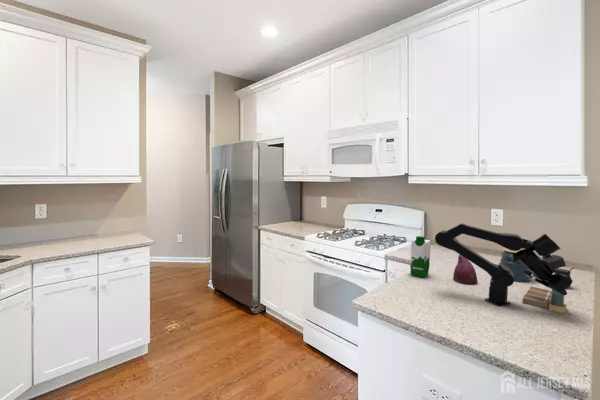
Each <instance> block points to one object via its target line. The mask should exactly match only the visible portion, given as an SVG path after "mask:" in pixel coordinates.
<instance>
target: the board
mask: <svg viewBox="0 0 600 400" xmlns="http://www.w3.org/2000/svg"><path fill="white" fill-rule="evenodd" d="M551 299H552V290H551V289H545V288H540V287H536V286H530V287H529V288H528V290H527V291H526V293H524V296H523V297H522V304H524V305H525V304H526V305H529V306H534V307H538V308H542V309H547V310H549V304H550V302H551Z"/></svg>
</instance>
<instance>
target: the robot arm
mask: <svg viewBox="0 0 600 400" xmlns="http://www.w3.org/2000/svg"><path fill="white" fill-rule="evenodd" d="M461 235H467V236H469V237H473V238H477V239H481V240H485V241H488V242H492V243H494V244H497V245H499V246H500V247H502V248H507V249H509V250H512V251H518V250H520V249H521V250H520V251H518V252H516V253H512V255H511V259H512V260H513V262H515V261H517V260H520V261H521V262H522V263H523V264H524V265H525V266H526V267H525V268H526V270H525V271H524V274H525V275H526V276H527V277H529V278H530V280H531V279H533V278H534V279H533V280H534V281H535V282H537V283H539V284H541V285H542V286H545V287H547V288H549V289H550V290H552V289H553V290H555V291H557V292H559V293H561V294H563V295H564V296H566V295H568V292H567V288H566V287H567V286H568V285H570V284H571V283H572V284H573V282H574V280H573V279H572V277H571V276H570V277H571V278H570V277H568V276H566V275H564V274H555V272H556V270H555V269H557V268H560V269H561V268H563V267H566V266H567V263H566V261H565V259H564V257H563V256H560V255H558V254H554V253H555V252H557V251H559V250H561V247H560V246H559V245H558V244H557V243H556V241H555V240H553V239H552V238H550V237H549V236H548V234H546V233H543V234H542V235H540V236H539V237H538V238H536V239H534V240H529V239H525V238H523V237H521V236H520V235H519V234H516V233H508V232H495V231H492V230H488V229H483V228H482V227H481V228H480V227H476V226H472V225H468V224H466V223H459V224H458V225H456V226H454V227H452V228H450V229H448V230H446V229H445V230H441V231H438V233H436V234H435V236H434V240H435V243H436V244H437V245H439V246H441V247H443V248H446V249H448V250H450V251H451V250H452V251H453V252H456V253H457V254H458V255H459V254H460V255H462V256H463V257H465V258H466V259H467V260H469V261H470V263H471V264H474V265H476V266H477V267H478V268H479V269H481V270H483V271H485V272H486V273H487V274H488V275H489V276H490V277H491V278H490V280H489V287H488V297H486V298H484V301H486V302H489V303H491V304H493V305H496V306H498V307H501V306H507V305H511V303H512V302H510V301H508V293H509V292H508V288H509V287H511V286H512V285H513V284H514V282H515V281H514V275H513V272H512V271H511V270H510V268H508V267H506V266H504V265H503V264H502V263H501V261H500V262H499V263H498V264H496V263H494V262H491V261H490V260H489V259H487V258H485V257H484V256H481V254H479V253H477V252H476V251H474V250H472V249H471V248H469V247H468V246H466V245H465V244H463V243H461V242H460V241H459V240H458V239H457V237H459V236H461ZM536 253H537V254H536ZM551 254H552V255H551ZM541 256H542V259H541V258H540V257H541ZM554 274H555V275H554ZM572 284H571V285H572ZM571 285H570V286H571Z"/></svg>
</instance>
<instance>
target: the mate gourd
mask: <svg viewBox="0 0 600 400" xmlns="http://www.w3.org/2000/svg"><path fill="white" fill-rule="evenodd" d="M574 269H575V267H572V268H570V269H566V268H561V267H560V268H557V269H555V270H556V272H555V273H553V274H554V275H555V274H564V275H566V276H568V277H570V278H571V279H572V277H571V271H572V270H574ZM571 285H573V282H572V283H571V284H570V285H568V286H567V287H566V288H565V289H568V288H570V287H571Z"/></svg>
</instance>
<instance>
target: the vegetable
mask: <svg viewBox="0 0 600 400" xmlns="http://www.w3.org/2000/svg"><path fill="white" fill-rule="evenodd" d="M457 259H458V260H457V262H456V263H457V264H456V265H455V268H454V272H453V277H452V280H453V281H454V282H456V283H459V284H462V285H468V286H470V285H471V286H472V285H473V286H474V285H477V284H478V277H477V272H476V268H475V267H474V265H473V263H472V262H471V261H469V260H468V259H466V258H465V257H463V256H462V255H460V254H458V258H457Z"/></svg>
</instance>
